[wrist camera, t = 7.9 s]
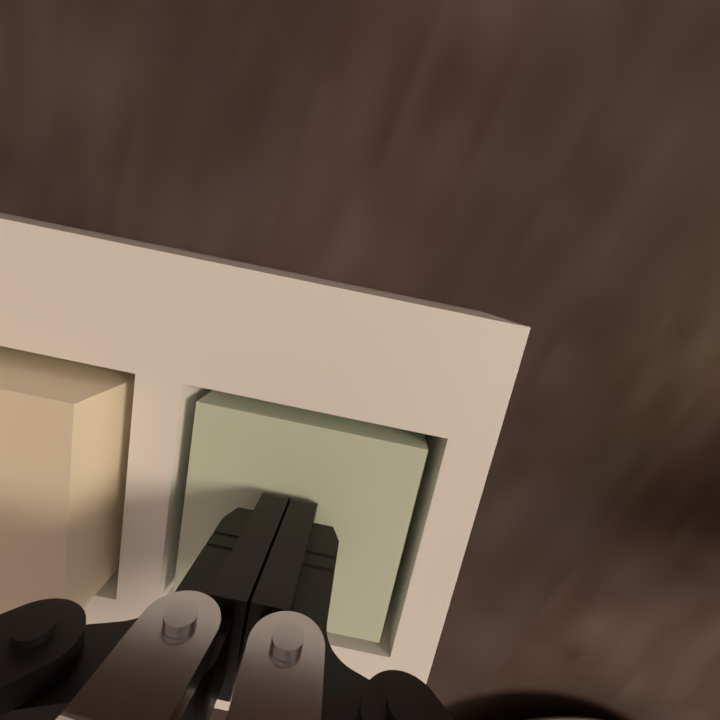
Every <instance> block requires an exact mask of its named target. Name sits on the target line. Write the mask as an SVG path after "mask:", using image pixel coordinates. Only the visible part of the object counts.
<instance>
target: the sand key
mask: <svg viewBox="0 0 720 720" xmlns="http://www.w3.org/2000/svg"><path fill="white" fill-rule="evenodd" d="M134 384H135V374H133V373H129V372H124V371H119V370H114V369H109V368H105V367H100V366H95V365H90V364H85V363H80V362H76V361H71V360H66V359H61V358H56V357H52V356H47V355H42V354H37V353H32V352H27V351H23V350H18V349H13V348H8V347H3V346H0V614H2V613H5V612H7V611H10V610H12V609H15V608H17V607H20V606H22V605H25V604H28V603H31V602H34V601H38V600H43V599H50V598H61V599H68V600H72V601H74V602H76V603H78V604H79V605H80V606H81V607H82V608H84V606H85V605H86V604H87V603H88V602H89V601H90V600H91V599H92V597H93V596H94V595H95V594H96V593H97V592H98V591H99V590H100V589H101V587H102V586H103V585H104V584H105V583H106V582H107V581H108V580H109V579H110V577H111V576H112V575H113V574H114V573H115V572H116V571H117V570H118V569H119V561H120V549H121V537H122V525H123V514H124V502H125V490H126V478H127V466H128V455H129V443H130V431H131V419H132V407H133V395H134Z"/></svg>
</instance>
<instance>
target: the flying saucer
mask: <svg viewBox="0 0 720 720" xmlns="http://www.w3.org/2000/svg"><path fill="white" fill-rule="evenodd" d="M526 720H603V719H597V718H588V717H574V716H554V717H541V718H532V719H526Z"/></svg>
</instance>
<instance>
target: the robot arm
mask: <svg viewBox="0 0 720 720" xmlns="http://www.w3.org/2000/svg"><path fill="white" fill-rule="evenodd" d="M317 507H318V503H315V502H310V501H305V500H300V499H296V498H292V499H291V501H290V497H285V496H281V495H276V494H271V493H266V492H263V493H262V495H261V497H260V499H259V501H258V502H257V504H256V506H255V508H254V510H250V509H245V508H240V507H238V508H236V509H235V510H233V511H232V512H230V513H229V514H227V515H226V516H224V517H223V518H222V520H221V521H220V523H219V524H218V526H217V527H216V529H215V530H214V533H213V534H212V535H211V537H210V538H209V540H208V541H207V543H206V546H204V547H203V549H202V551H201V552H200V554H199V555H198V557H197V558H196V560H195V561H194V563H193V564H192V566H191V568H190V569H189V571H188V572H187V574H186V575H185V577H184V578H183V580H182V581H181V583H180V585H179V586H178V588H177V589H176V591H175V592H173V593H170V594H167V595H165V596H163V597H161V598H159V599H157V600H156V601H154V602H153V603H152V604H151V605H149V606H148V607H147V608H146V609H145V611H144V612H143V613H142V614H141V615H140V617H139V618H136V619H132V620H127V621H120V622H109V623H97V624H86V614H85V611H84V610H83V608H82V607H81V606H80V605H79V604H78V603H76V602H74V601H72V600H68V599H61V598H50V599H43V600H38V601H34V602H31V603H28V604H25V605H22V606H20V607H17V608H15V609H12V610H10V611H7V612H5V613H2V614H0V720H209V719H210V716H211V714H212V711H213V709H214V706H215V703H216V701H217V699H218V700H223V701H228V702H230V701H231V703H230V706H229V710H228V714H227V717H226V720H454V719H453V718H452V716H451V715H450V714H449V713H448V711H447V710H446V709H445V707H444V706H443V705H442V703H441V702H440V701H439V700H438V698H437V697H436V696H435V694H434V693H433V692H432V691H431V689H430V688H429V687H428V686H427V685H426V684H425V683H424V682H422V681H421V680H420V679H418V678H417V677H415V676H413V675H411V674H409V673H407V672H404V671H399V670H386V671H382V672H380V673H378V674H376V675H375V676H373V677H372V678H371V679H370V680H369V679H367V678H366V677H364V676H362V675H360V674H359V673H357V672H355V671H353V670H352V669H350V668H349V667H347V666H346V665H345V664H344V663H343V662H342V661H341V660H340V659H339V658H338V657H337V656H336V655H335V653H334V651H333V650H332V648H331V646H330V644H329V641H328V637H327V620H328V613H329V607H330V600H331V593H332V586H333V579H334V572H335V565H336V558H337V552H338V545H339V540H338V538H337V535H336V533H335V530H334V528H333V527H332V526H327V525H322V524H318V523H314V522H315V517H316V512H317ZM231 698H232V699H231Z"/></svg>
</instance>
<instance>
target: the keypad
mask: <svg viewBox="0 0 720 720" xmlns="http://www.w3.org/2000/svg"><path fill="white" fill-rule="evenodd" d="M530 328H531V327H528V326H524V325H521V324H518V323H515V322H512V321H509V320H506V319H503V318H500V317H496V316H493V315H490V314H487V313H484V312H481V311H478V310H473V309H468V308H463V307H458V306H453V305H448V304H444V303H439V302H434V301H429V300H424V299H419V298H414V297H410V296H405V295H400V294H395V293H390V292H385V291H380V290H376V289H371V288H366V287H361V286H356V285H351V284H346V283H342V282H337V281H332V280H327V279H322V278H317V277H312V276H308V275H303V274H298V273H293V272H288V271H283V270H278V269H273V268H269V267H264V266H259V265H254V264H249V263H244V262H239V261H235V260H230V259H225V258H220V257H215V256H210V255H205V254H201V253H196V252H191V251H186V250H181V249H176V248H171V247H167V246H162V245H157V244H152V243H147V242H142V241H137V240H133V239H128V238H123V237H118V236H113V235H108V234H103V233H99V232H94V231H89V230H84V229H79V228H74V227H69V226H64V225H60V224H55V223H50V222H45V221H40V220H35V219H30V218H26V217H21V216H16V215H11V214H6V213H1V212H0V346H3V347H8V348H13V349H18V350H23V351H27V352H32V353H37V354H42V355H47V356H52V357H56V358H61V359H66V360H71V361H76V362H80V363H85V364H90V365H95V366H100V367H105V368H109V369H114V370H119V371H124V372H129V373H133V374H135V384H134V395H133V407H132V419H131V431H130V443H129V455H128V466H127V478H126V490H125V502H124V514H123V525H122V537H121V549H120V561H119V569H118V570H117V571H116V572H115V573H114V574H113V575H112V576H111V577H110V579H109V580H108V581H107V582H106V583H105V584H104V585H103V586H102V587H101V589H100V590H99V591H98V592H97V593H96V594H95V595H94V596H93V597H92V599H91V600H90V601H89V602H88V603H87V604H86V605H85V606H84V608H83V610H84V611H85V614H86V624H97V623H109V622H120V621H127V620H132V619H136V618H139V617H140V615H141V614H142V613H143V612H144V611H145V609H146V608H147V607H148V606H149V605H151V604H152V603H153V602H154V601H156V600H157V599H159V598H161V597H163V596H165V595H167V594H170V593H173V591H174V583H175V574H176V566H177V558H178V549H179V541H180V532H181V524H182V516H183V507H184V499H185V491H186V482H187V474H188V465H189V457H190V449H191V440H192V432H193V424H194V415H195V407H196V401H198V400H199V399H201V398H202V397H204V396H205V395H207V394H208V393H210V392H211V391H213V390H215V391H220V392H225V393H230V394H235V395H239V396H244V397H249V398H254V399H259V400H264V401H268V402H273V403H278V404H283V405H288V406H292V407H297V408H302V409H307V410H312V411H316V412H321V413H326V414H331V415H336V416H341V417H345V418H350V419H355V420H360V421H365V422H369V423H374V424H379V425H384V426H389V427H394V428H398V429H403V430H408V431H413V432H418V433H422V434H424V436H425V440H426V443H427V447H428V454H427V458H426V461H425V465H424V469H423V473H422V477H421V481H420V485H419V489H418V493H417V497H416V501H415V505H414V509H413V512H412V516H411V520H410V524H409V528H408V532H407V536H406V540H405V544H404V548H403V552H402V556H401V559H400V563H399V567H398V571H397V575H396V579H395V583H394V587H393V591H392V595H391V599H390V603H389V607H388V610H387V614H386V618H385V622H384V626H383V630H382V634H381V638H380V642H379V643H378V642H373V641H368V640H363V639H359V638H354V637H349V636H344V635H340V634H335V633H330V632H327V637H328V641H329V644H330V646H331V648H332V650H333V651H334V653H335V655H336V656H337V657H338V658H339V659H340V660H341V661H342V662H343V663H344V664H345V665H346V666H347V667H349V668H350V669H352V670H353V671H355V672H357V673H359V674H360V675H362V676H364V677H366V678H367V679H369V680H370V679H371V678H372V677H373V676H375V675H376V674H378V673H380V672H382V671H386V670H399V671H404V672H407V673H409V674H411V675H413V676H415V677H417V678H418V679H420V680H421V681H422V682H424V683H425V684H426V683H427V679H428V676H429V673H430V669H431V666H432V662H433V659H434V656H435V652H436V649H437V645H438V642H439V638H440V635H441V632H442V628H443V625H444V621H445V618H446V615H447V611H448V608H449V604H450V601H451V597H452V594H453V591H454V587H455V584H456V580H457V577H458V574H459V570H460V567H461V563H462V560H463V556H464V553H465V550H466V546H467V543H468V539H469V536H470V533H471V529H472V526H473V522H474V519H475V516H476V512H477V509H478V505H479V502H480V498H481V495H482V492H483V488H484V485H485V481H486V478H487V475H488V471H489V468H490V464H491V461H492V457H493V454H494V451H495V447H496V444H497V440H498V437H499V434H500V430H501V427H502V423H503V420H504V416H505V413H506V410H507V406H508V403H509V399H510V396H511V393H512V389H513V386H514V382H515V379H516V375H517V372H518V369H519V365H520V362H521V358H522V355H523V352H524V348H525V345H526V341H527V338H528V334H529V331H530ZM231 699H232V698H231ZM230 703H231V701H230V702H228V701H223V700H218V699H217V701H216V703H215V706H214V708H218V709H222V710H227V711H228V710H229V706H230Z"/></svg>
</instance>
